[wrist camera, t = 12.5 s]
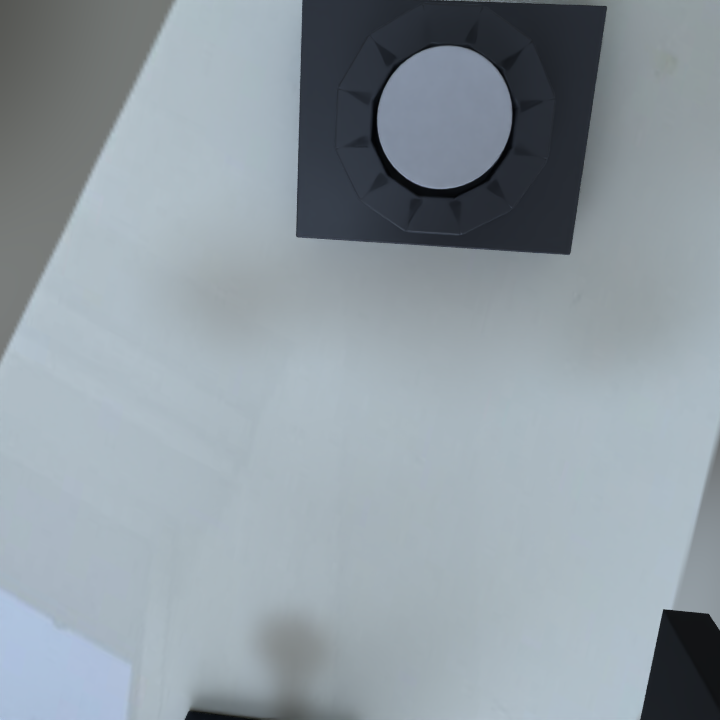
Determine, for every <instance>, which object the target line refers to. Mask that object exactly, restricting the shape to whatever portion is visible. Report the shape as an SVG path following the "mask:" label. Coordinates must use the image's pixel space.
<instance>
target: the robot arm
mask: <svg viewBox="0 0 720 720" xmlns="http://www.w3.org/2000/svg"><path fill="white" fill-rule="evenodd" d="M640 720H720V630H719V629H718V627H717V626H716V624H715V623H714V621H713V620H712V618H711V617H710V615H709V614H704V613H695V612H685V611H675V610H665V609H663V613H662V618H661V623H660V628H659V632H658V637H657V642H656V647H655V652H654V657H653V661H652V666H651V671H650V676H649V681H648V685H647V690H646V695H645V700H644V705H643V710H642V714H641V719H640Z"/></svg>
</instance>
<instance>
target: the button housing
mask: <svg viewBox="0 0 720 720" xmlns="http://www.w3.org/2000/svg"><path fill="white" fill-rule="evenodd" d="M606 11H607V6H591V5H561V4H531V3H501V2H471V1H441V0H303V1H302V39H301V76H300V113H299V150H298V188H297V225H296V236H297V237H302V238H317V239H332V240H348V241H363V242H379V243H394V244H409V245H425V246H440V247H455V248H471V249H486V250H501V251H517V252H532V253H547V254H563V255H570V252H571V245H572V239H573V232H574V225H575V219H576V212H577V205H578V198H579V192H580V185H581V178H582V172H583V165H584V158H585V152H586V145H587V138H588V131H589V125H590V118H591V111H592V105H593V98H594V91H595V84H596V78H597V71H598V64H599V58H600V51H601V44H602V37H603V31H604V24H605V17H606ZM449 45H451V46H460V47H463V48H467V49H470V50H472V51H475V52H477V53H479V54H480V55H482V56H483V57H485V58H486V59H487V60H489V61H490V62H491V63H492V64H493V65H494V66H495V67H496V69H497V70H498V71H499V73H500V74H501V75H502V77H503V79H504V81H505V83H506V85H507V87H508V90H509V93H510V98H511V103H512V125H511V130H510V134H509V138H508V141H507V143H506V145H505V148H504V150H503V151H502V153H501V155H500V156H499V158H498V159H497V161H496V162H495V163H494V164H493V165H492V166H491V167H490V168H489V169H488V170H487V171H486V172H485V173H484V174H483V175H481V176H480V177H479V178H477V179H475V180H473V181H472V182H470V183H467V184H465V185H462V186H459V187H455V188H448V189H432V188H427V187H423V186H420V185H418V184H415V183H413V182H411V181H410V180H408V179H407V178H405V177H404V176H403V175H402V174H400V173H399V172H398V171H397V170H396V169H395V168H394V167H393V165H392V164H391V163H390V161H389V160H388V158H387V156H386V154H385V153H384V151H383V148H382V146H381V143H380V139H379V135H378V127H377V114H378V106H379V102H380V98H381V95H382V93H383V90H384V88H385V86H386V84H387V82H388V80H389V79H390V77H391V76H392V74H393V73H394V72H395V71H396V70H397V68H398V67H399V66H400V65H401V64H402V63H404V62H405V61H406V60H407V59H409V58H410V57H412V56H413V55H415V54H417V53H419V52H421V51H423V50H426V49H429V48H432V47H437V46H449Z"/></svg>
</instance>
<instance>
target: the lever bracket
mask: <svg viewBox="0 0 720 720" xmlns="http://www.w3.org/2000/svg"><path fill="white" fill-rule="evenodd" d="M185 720H253V719H245V718H237V717H229V716H222V715H214V714H206V713H199V712H191V711H189V712H188V714H187V716H186V718H185Z"/></svg>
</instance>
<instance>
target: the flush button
mask: <svg viewBox="0 0 720 720" xmlns="http://www.w3.org/2000/svg"><path fill="white" fill-rule="evenodd" d="M511 125H512V103H511V98H510V93H509V90H508V87H507V85H506V83H505V81H504V79H503V77H502V75H501V74H500V73H499V71H498V70H497V69H496V67H495V66H494V65H493V64H492V63H491V62H490V61H489V60H487V59H486V58H485V57H483V56H482V55H480V54H479V53H477V52H475V51H472V50H470V49H467V48H463V47H460V46H451V45H449V46H437V47H432V48H429V49H426V50H423V51H421V52H419V53H417V54H415V55H413V56H412V57H410V58H409V59H407V60H406V61H405V62H404V63H402V64H401V65H400V66H399V67H398V68H397V70H396V71H395V72H394V73H393V74H392V76H391V77H390V79H389V80H388V82H387V84H386V86H385V88H384V90H383V93H382V95H381V98H380V102H379V106H378V114H377V127H378V135H379V139H380V143H381V146H382V148H383V151H384V153H385V154H386V156H387V158H388V160H389V161H390V163H391V164H392V165H393V167H394V168H395V169H396V170H397V171H398V172H399V173H400V174H402V175H403V176H404V177H405V178H407V179H408V180H410V181H411V182H413V183H415V184H418V185H420V186H423V187H427V188H432V189H448V188H455V187H459V186H462V185H465V184H467V183H470V182H472V181H473V180H475V179H477V178H479V177H480V176H481V175H483V174H484V173H485V172H486V171H487V170H488V169H489V168H490V167H491V166H492V165H493V164H494V163H495V162H496V161H497V159H498V158H499V156H500V155H501V153H502V151H503V150H504V148H505V145H506V143H507V141H508V138H509V134H510V130H511Z"/></svg>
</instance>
